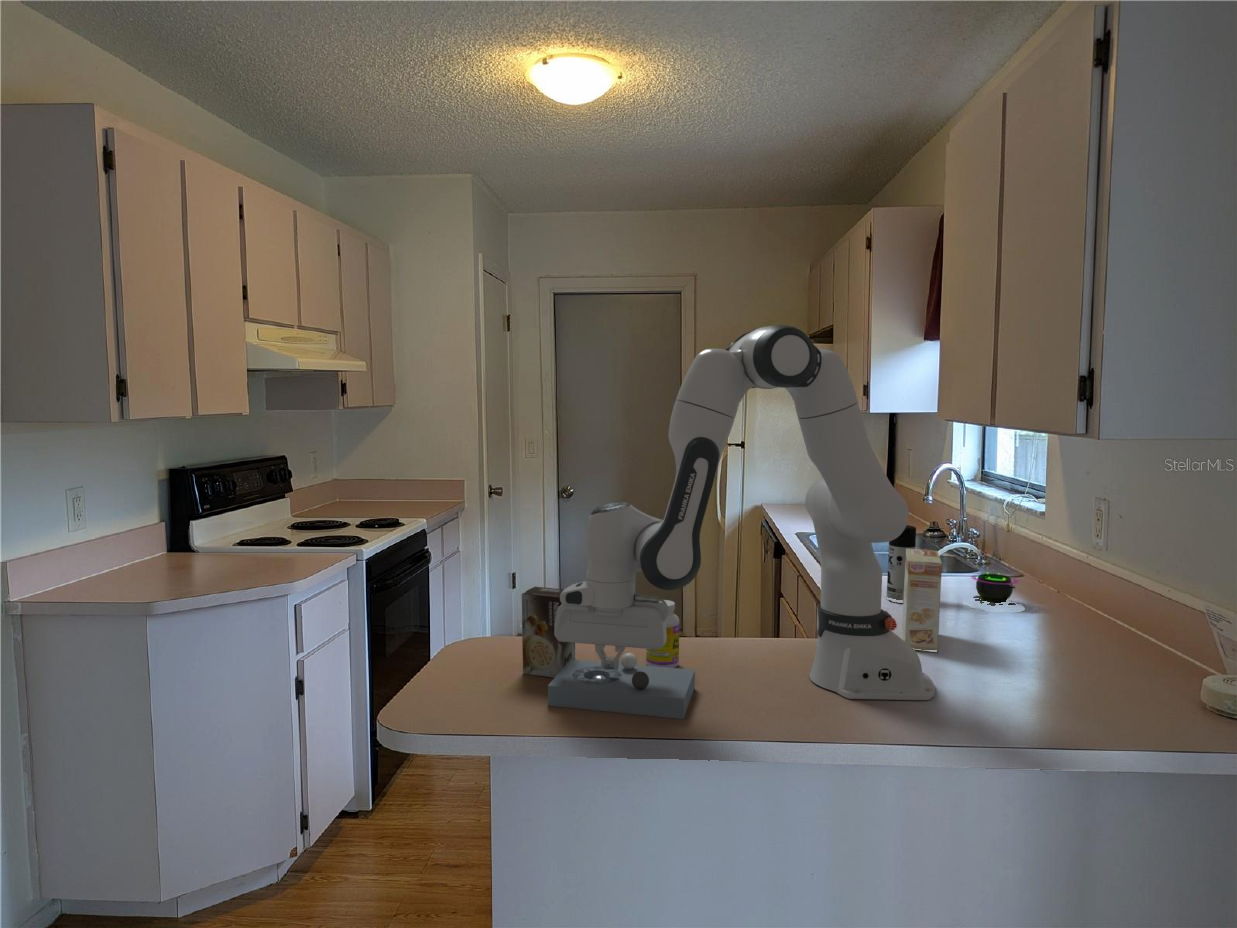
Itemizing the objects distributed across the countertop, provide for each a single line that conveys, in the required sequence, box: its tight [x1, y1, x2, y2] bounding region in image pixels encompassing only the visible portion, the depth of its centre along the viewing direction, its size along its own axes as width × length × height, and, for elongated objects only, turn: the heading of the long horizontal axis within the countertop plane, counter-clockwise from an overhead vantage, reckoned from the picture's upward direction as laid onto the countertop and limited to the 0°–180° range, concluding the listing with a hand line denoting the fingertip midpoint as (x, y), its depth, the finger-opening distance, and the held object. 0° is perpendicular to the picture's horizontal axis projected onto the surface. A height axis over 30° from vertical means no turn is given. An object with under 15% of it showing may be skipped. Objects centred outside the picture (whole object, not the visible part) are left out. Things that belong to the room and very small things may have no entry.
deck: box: [547, 658, 696, 720], centre depth 140 cm, size 24×14×4 cm, turn 77°
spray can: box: [886, 524, 917, 600], centre depth 206 cm, size 7×7×20 cm
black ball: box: [632, 671, 649, 689], centre depth 135 cm, size 3×3×3 cm
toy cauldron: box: [970, 562, 1019, 606], centre depth 203 cm, size 15×15×11 cm
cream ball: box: [620, 652, 638, 669], centre depth 144 cm, size 3×3×3 cm
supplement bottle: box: [645, 599, 680, 668], centre depth 157 cm, size 7×7×13 cm
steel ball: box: [591, 675, 606, 680], centre depth 141 cm, size 4×4×4 cm
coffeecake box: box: [901, 548, 943, 651], centre depth 172 cm, size 15×7×20 cm, turn 161°
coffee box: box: [521, 586, 576, 679], centre depth 152 cm, size 9×6×16 cm
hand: (610, 668), depth 141 cm, fingers closed
